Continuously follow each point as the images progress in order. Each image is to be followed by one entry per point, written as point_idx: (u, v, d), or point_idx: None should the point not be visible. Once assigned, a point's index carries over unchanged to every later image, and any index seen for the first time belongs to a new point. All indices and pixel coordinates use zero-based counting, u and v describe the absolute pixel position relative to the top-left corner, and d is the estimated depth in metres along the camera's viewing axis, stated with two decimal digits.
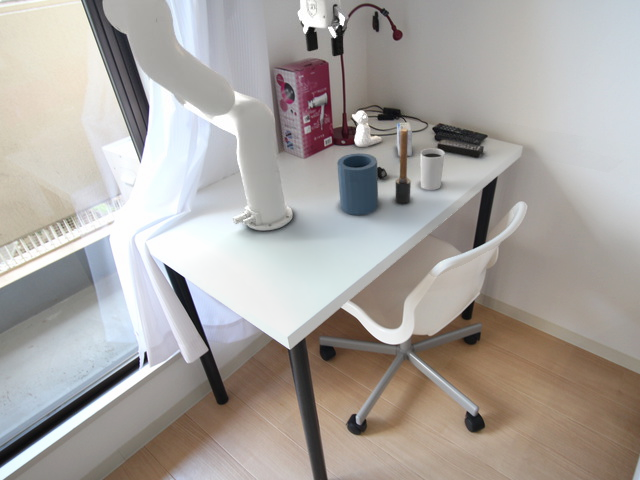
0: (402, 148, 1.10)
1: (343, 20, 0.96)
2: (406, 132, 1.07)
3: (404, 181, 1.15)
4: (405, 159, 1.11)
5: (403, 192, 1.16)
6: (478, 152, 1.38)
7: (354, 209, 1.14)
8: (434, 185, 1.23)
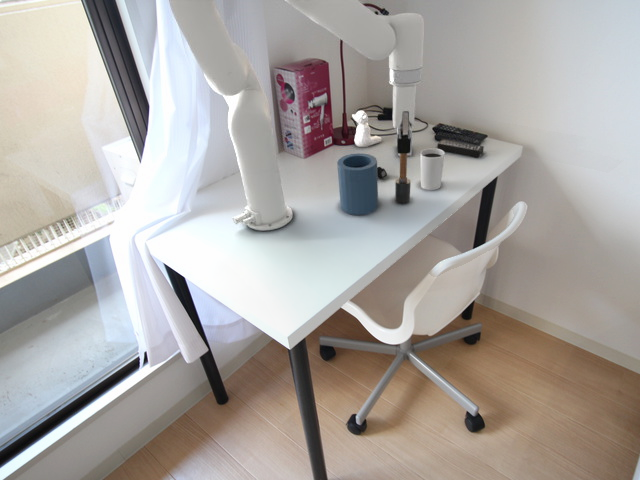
0: None
1: (402, 134, 1.03)
2: None
3: (404, 181, 1.15)
4: (405, 159, 1.11)
5: (403, 192, 1.16)
6: (478, 152, 1.38)
7: (354, 209, 1.14)
8: (434, 185, 1.23)
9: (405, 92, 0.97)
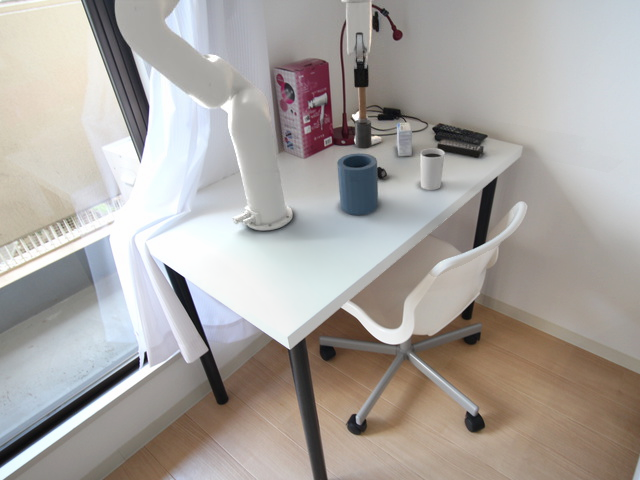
0: None
1: (357, 60, 0.92)
2: None
3: (364, 121, 1.04)
4: (363, 95, 1.00)
5: (363, 134, 1.05)
6: (478, 152, 1.38)
7: (354, 209, 1.14)
8: (434, 185, 1.23)
9: (358, 9, 0.86)
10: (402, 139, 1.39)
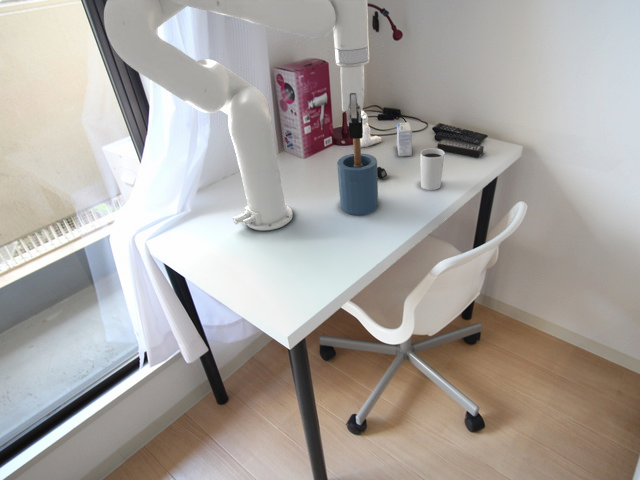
0: None
1: None
2: None
3: None
4: (358, 144, 1.07)
5: None
6: (478, 152, 1.38)
7: (354, 209, 1.14)
8: (434, 185, 1.23)
9: (351, 73, 0.94)
10: (402, 139, 1.39)
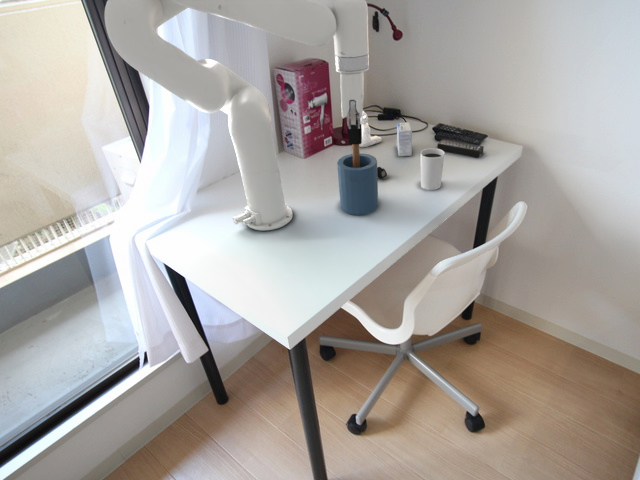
0: None
1: (350, 123, 1.00)
2: None
3: None
4: (357, 150, 1.08)
5: None
6: (478, 152, 1.38)
7: (354, 209, 1.14)
8: (434, 185, 1.23)
9: (351, 80, 0.94)
10: (402, 139, 1.39)
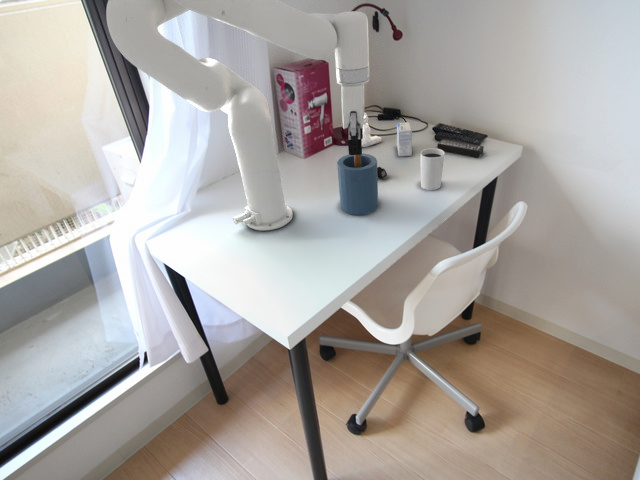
0: None
1: (350, 128, 0.97)
2: None
3: None
4: (359, 162, 1.10)
5: None
6: (478, 152, 1.38)
7: (354, 209, 1.14)
8: (434, 185, 1.23)
9: (352, 91, 0.96)
10: (402, 139, 1.39)
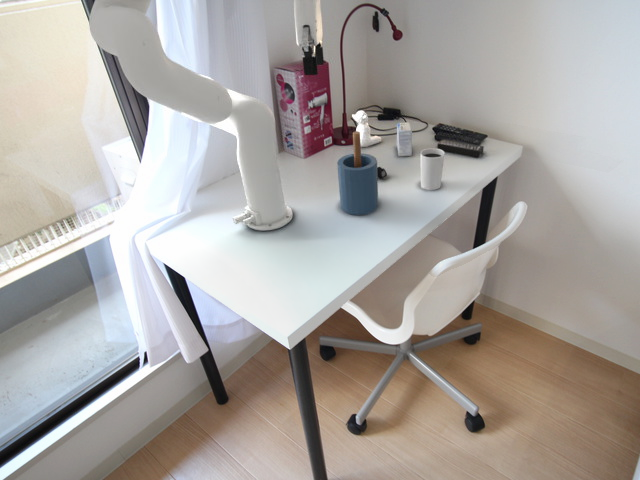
0: (355, 151, 1.08)
1: (302, 42, 0.95)
2: (358, 135, 1.06)
3: None
4: (359, 162, 1.10)
5: None
6: (478, 152, 1.38)
7: (354, 209, 1.14)
8: (434, 185, 1.23)
9: (304, 3, 0.94)
10: (402, 139, 1.39)
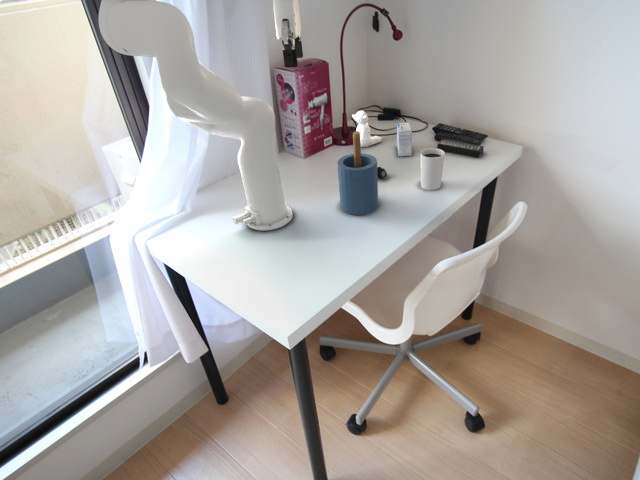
0: (355, 151, 1.08)
1: (282, 35, 0.99)
2: (358, 135, 1.06)
3: None
4: (359, 162, 1.10)
5: None
6: (478, 152, 1.38)
7: (354, 209, 1.14)
8: (434, 185, 1.23)
9: None
10: (402, 139, 1.39)
